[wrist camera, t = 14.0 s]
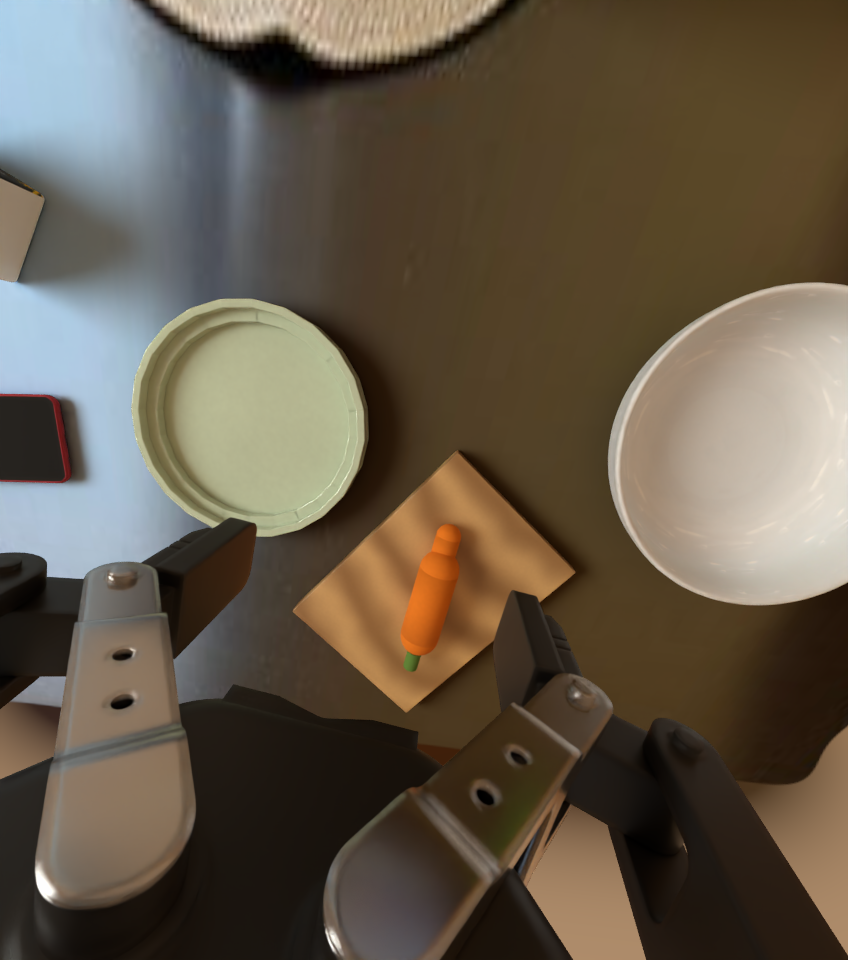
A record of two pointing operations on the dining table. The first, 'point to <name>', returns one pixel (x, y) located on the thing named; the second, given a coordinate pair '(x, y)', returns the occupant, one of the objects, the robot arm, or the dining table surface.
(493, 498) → the cutting board
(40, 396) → the smartphone
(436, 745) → the dining table surface
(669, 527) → the serving bowl
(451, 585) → the carrot
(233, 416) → the plate
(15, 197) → the medicine bottle
